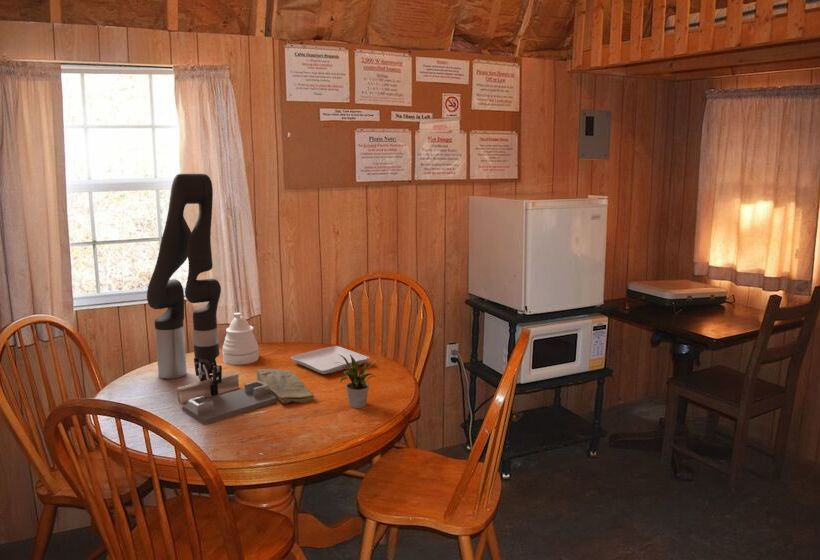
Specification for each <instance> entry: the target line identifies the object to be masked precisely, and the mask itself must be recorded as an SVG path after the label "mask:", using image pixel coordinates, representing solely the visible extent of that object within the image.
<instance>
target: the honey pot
mask: <svg viewBox="0 0 820 560" xmlns="http://www.w3.org/2000/svg"><path fill="white" fill-rule="evenodd" d="M233 316H234V317H233V319H231V322H230V324H229V325H228V326H229V327H227V328H225V329H226V330H225V333H226V336H225V337H224V342H223V345H222V360H223V362H224V363H225V364H227V363H228V364H227V365H233V366H234V365H237V366H238V365H247V364H251V363H255V362H257V361H258V360H259V358H260V357H259V355H260V354H259V344H258V342H257V339H256V335H255V334H254V332H253V331H254V329H255V327H254V326H252V325H250V324H249V322H248V320H247V319H246V318H245V317H244V316H243V315H242V313H241V312H234V313H233Z"/></svg>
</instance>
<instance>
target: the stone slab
mask: <svg viewBox="0 0 820 560" xmlns="http://www.w3.org/2000/svg"><path fill="white" fill-rule="evenodd" d="M256 377H257V381H258V380H259V381H261V382H263V383H265V384H267V385H269V394H270V395H272V396H274V397H276V401H279V402H280V403H282V404H283V405H285V404H289V403H290V402H291V403H292V402H294V403H299V402H300V404H302V402H303V403H307V402H308V401H309V402H312V401H314V400H315V399H314V397H315V396H314V394H313V392H311V391H310V390H309V389H308V388H307V387H306V386H305V384H304V383H303V381H302V380H301V379H300V378H299V377H298V375H297V374H295V373H294V372H292V371H291V370H290V369H289V370H288V369H287V370H286V369H275V368H267V369H264V368H262V369H256Z"/></svg>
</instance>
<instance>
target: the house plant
mask: <svg viewBox="0 0 820 560" xmlns="http://www.w3.org/2000/svg"><path fill="white" fill-rule="evenodd" d="M338 355H339V354H338ZM340 356H342V355H340ZM350 356H351V355H350ZM342 357H343V356H342ZM359 357H360V356H359ZM343 358H344V360H345V361H346V363H347V365H348V367H349V369H348V368H347V367H346V366H345V365H344V364H343V365H344V366H345V367H346V368H347V369H345V368H344V367H343V366H342V367H343V368H344V369H345V370H343V372H342V373H343V374H345V375H346V377H341V378H340V381H339V383H342V382H343V381H345V380H347V379H349V381H350V382H348V383H347V384H346V385H345V389H346V394H347V400H348V405H349V407H350V406H351V407H350V408H352V407H353V409H361V408H364V406H365V407H366V406H367V403H368V395H369V388H370V384H369V383H367V381H368V380H369V379H371V378H372V377H373V378H374V377H375V375H373V373H366V372H367V371H368V370H369V369H370V368H371V367H372V366H373V364H374V363H376V362H378V361H379V359H377V360H374V361H372V363H370V365H368V366H367V363H368V361H369V360H368V358H367V360H368V361H367V360H366V362H365V363H363V367H362V368H360V370H359V365H358V363H359V362H358V363H356V361H355V359H354V358H353V357H352V356H351V361H352V368H351V367H350V365H349V363H348V361H347V360H346V358H345V357H343ZM358 360H359V359H358ZM333 363H339V362H333ZM341 364H342V363H341ZM368 376H369V377H368ZM367 377H368V378H367ZM366 378H367V379H366Z"/></svg>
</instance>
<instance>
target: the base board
mask: <svg viewBox="0 0 820 560" xmlns="http://www.w3.org/2000/svg"><path fill="white" fill-rule="evenodd" d="M210 400H212V401H213V409H214V411H211V412H208V413H204V414H201V415H196V414H195V413H193V412H191V411H190V410H188V403H186V404H183V405H181V410H183V412H184V413H186V414H187V415H189V416H190V417H192V418H194V419H195V420H197V421H198V420H199V422H200V423H202V424H203V425H207V424H211V423H213V422H216V421H219V420H223V419H227V418H230V417H234V416H237V415H239V414H242V413H243V414H244V413H246V412H249V411H250V412H251V411H252V410H256V409H259V408H262V407H265V406H269V405H272V404H276V403H277V399H276V397H274V396H272V394H270V393H269V394H268V395H265V396H261V397H258V398H254V397H253V392H252V393H248V394H246V393H245V387H243V388H240V389H237V390H236V389H235V390H231V391H228V392H224V393H221V394H218V395H216V396H210V397H207V398H205V402H207V401H210Z"/></svg>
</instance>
